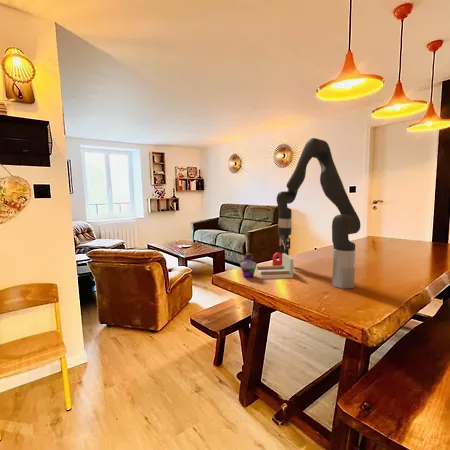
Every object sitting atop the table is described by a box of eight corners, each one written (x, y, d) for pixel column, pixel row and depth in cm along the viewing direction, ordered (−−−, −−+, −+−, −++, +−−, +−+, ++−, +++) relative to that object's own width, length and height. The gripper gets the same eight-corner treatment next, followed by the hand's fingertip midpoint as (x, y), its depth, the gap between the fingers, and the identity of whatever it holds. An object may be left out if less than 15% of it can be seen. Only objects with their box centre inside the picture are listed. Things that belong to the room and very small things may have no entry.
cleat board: (292, 277, 145) (293, 259, 144) (261, 278, 144) (262, 260, 143) (284, 270, 159) (285, 253, 158) (256, 270, 158) (256, 254, 157)
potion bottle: (250, 280, 142) (250, 256, 140) (236, 276, 148) (236, 253, 146) (260, 276, 148) (260, 253, 147) (247, 273, 154) (247, 251, 153)
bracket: (277, 268, 164) (277, 254, 163) (272, 266, 168) (272, 253, 167) (293, 265, 169) (293, 252, 168) (288, 263, 173) (288, 251, 172)
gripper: (295, 228, 158) (294, 256, 160) (287, 224, 172) (286, 251, 174) (282, 228, 157) (281, 257, 159) (275, 224, 171) (274, 251, 173)
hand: (284, 253), depth 167 cm, fingers open, 8 cm apart
